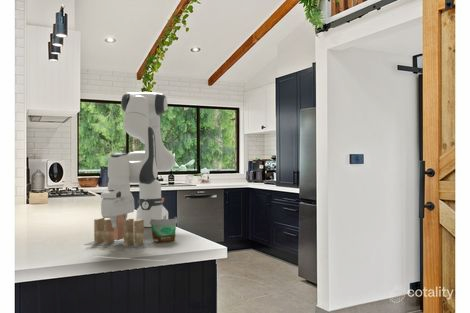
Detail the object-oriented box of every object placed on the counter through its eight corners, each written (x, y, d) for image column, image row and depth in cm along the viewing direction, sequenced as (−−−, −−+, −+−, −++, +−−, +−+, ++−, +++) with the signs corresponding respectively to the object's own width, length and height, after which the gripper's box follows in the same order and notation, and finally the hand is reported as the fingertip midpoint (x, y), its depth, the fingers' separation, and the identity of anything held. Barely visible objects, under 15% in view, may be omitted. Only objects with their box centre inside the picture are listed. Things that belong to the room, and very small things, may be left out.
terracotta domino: (114, 239, 166) (114, 215, 166) (120, 237, 171) (120, 213, 171) (117, 240, 166) (117, 215, 166) (124, 237, 171) (123, 213, 171)
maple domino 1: (94, 243, 169) (94, 219, 169) (101, 241, 174) (101, 217, 174) (97, 244, 168) (97, 219, 168) (104, 241, 173) (104, 217, 173)
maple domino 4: (134, 246, 164) (134, 221, 164) (140, 243, 169) (140, 219, 169) (137, 246, 164) (137, 221, 164) (143, 243, 169) (143, 219, 169)
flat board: (97, 240, 177) (97, 239, 177) (153, 243, 170) (153, 242, 170) (83, 245, 167) (83, 244, 167) (142, 249, 161) (142, 248, 161)
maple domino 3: (124, 245, 165) (123, 220, 165) (130, 242, 170) (130, 218, 170) (127, 245, 165) (127, 220, 165) (133, 243, 170) (133, 218, 170)
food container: (156, 245, 167) (156, 220, 167) (149, 243, 172) (149, 219, 172) (183, 241, 174) (183, 218, 174) (176, 239, 179) (176, 216, 179)
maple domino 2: (104, 244, 168) (104, 219, 168) (110, 241, 173) (110, 218, 173) (107, 244, 167) (107, 219, 167) (114, 242, 172) (114, 218, 172)
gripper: (124, 190, 180) (125, 222, 180) (98, 194, 160) (98, 230, 160) (138, 190, 178) (138, 222, 178) (112, 194, 158) (112, 230, 158)
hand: (119, 226), depth 169 cm, fingers closed on terracotta domino, 5 cm apart
